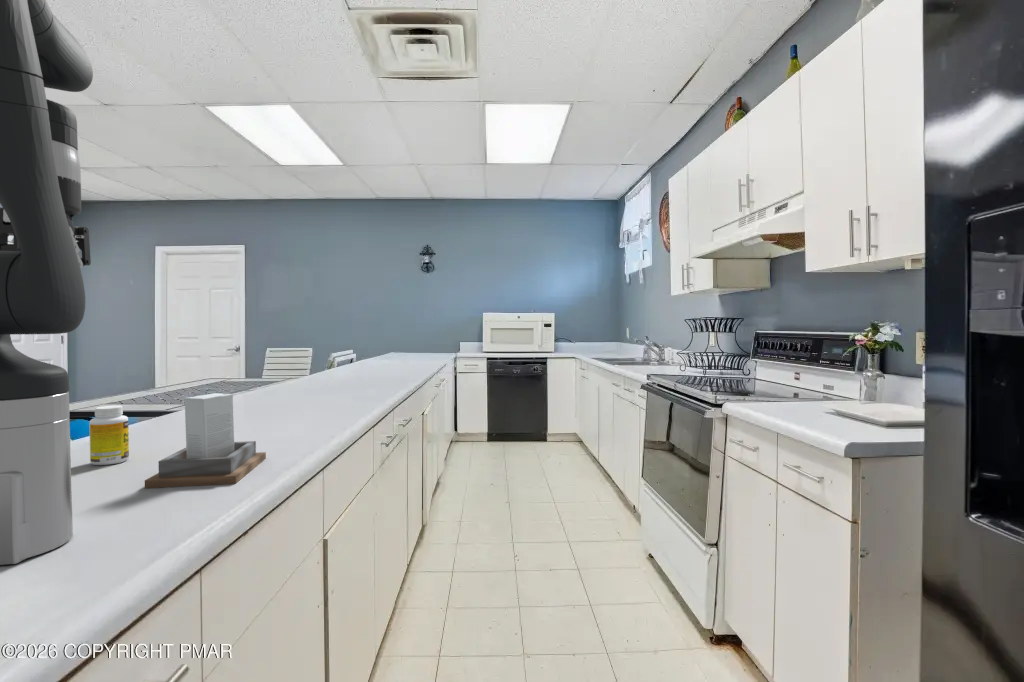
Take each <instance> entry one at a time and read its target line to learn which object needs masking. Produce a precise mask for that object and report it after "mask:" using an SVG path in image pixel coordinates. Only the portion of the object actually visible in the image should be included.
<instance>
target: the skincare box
mask: <svg viewBox="0 0 1024 682" xmlns="http://www.w3.org/2000/svg"><path fill="white" fill-rule="evenodd" d="M233 397H234V396H233V394H232V393H221V392H220V393H219V392H218V393H217V392H216V393H215V392H213V393H209V394H208V393H207V394H203V395H202V394H201V395H196V396H190V397H189V396H188V397H184V415H185V418H184V419H185V442H186V443H185V448H186V451H187V459H189V458H212V457H227V456H228V455H230V454H232V453H233V452H234V442H235V431H234V430H235V427H234V423H235V422H234V398H233Z"/></svg>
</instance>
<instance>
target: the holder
mask: <svg viewBox="0 0 1024 682" xmlns="http://www.w3.org/2000/svg"><path fill="white" fill-rule="evenodd" d="M256 442H257V441H256V440H252V441H251V440H249V441H248V440H247V441H234V452H233V453H232V454H230V455H228V456H227V457H212V458H189V459H187V451H186V447H184V448H182V449H180V450H178V451H176V452H175V453H172V454H169V455H168V456H166V457H164V458H162V459H161V460H159V461H158V472H157V473H156V474H153V475H152V476H150V477H148V478H147V479H145V480H144V489H153V488H154V489H155V488H157V489H158V488H174V487H175V488H176V487H191V486H210V485H211V486H212V485H231V484H232V485H233V484H237V483H238V482H239V481H240V480H241V479H243V478H244V477H245V476H247V475H248V474H249V473H250V472H252V471H253V470H254V469H255V468H256V467H258V466H259V465H260V464H261V463H262V462H263V461H265V460H267V452H266V451H265V452H263V451H262V452H261V451H260V452H257V444H256Z"/></svg>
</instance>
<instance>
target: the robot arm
mask: <svg viewBox="0 0 1024 682" xmlns="http://www.w3.org/2000/svg"><path fill="white" fill-rule="evenodd" d="M49 5H50V4H48V2H47V0H0V205H1V206H0V566H4V565H14V564H18V563H20V562H22V561H25V560H26V559H29V558H31V557H36V556H37V555H41V554H44V553H47V552H49V551H53V550H55V549H56V548H58V547H61V546H62V545H65V544H66V543H68V542H69V541H70V540H71V539H72V538H73V535H74V533H73V532H74V531H73V528H74V527H73V501H72V500H73V497H72V496H73V495H72V494H73V491H72V459H71V457H72V456H71V431H70V430H71V426H70V424H71V423H70V422H71V421H70V392H69V390H70V381H69V380H70V379H69V373H68V371H67V370H66V369H65V368H63V367H62V366H59V365H55V364H51V363H49V362H45V361H41V360H38V359H35V358H33V357H30V356H28V355H26V354H24V353H23V352H21V351H19V350H18V349H17V348H16V347H15V346H14V344H13V341H12V337H11V335H60V334H67V333H71V332H73V331H75V330H76V329H77V328H78V327H79V326H80V325H81V323H82V321H83V319H84V316H85V311H86V291H85V284H84V278H83V274H82V273H83V272H82V270H81V269H83V267H84V266H90V265H91V263H92V260H91V247H90V232H89V229H88V227H87V226H75V225H74V222H73V217H74V216H78V215H80V214H81V213H82V211H83V210H82V180H81V179H82V175H81V173H82V171H81V164H80V159H79V151H78V150H79V149H78V147H79V146H78V144H79V143H78V141H79V140H78V120H77V116H76V114H75V113H74V112H73V110H72V109H70V108H68V107H67V106H65V105H63V104H61V103H58V102H55V101H54V100H50V99H47V96H46V95H47V94H46V91H45V90H46V89H45V88H47V89H53V90H58V91H64V92H69V93H70V92H72V93H80V92H83V91H85V90H87V88H89V87H90V86H91V84H92V82H93V78H94V75H93V72H94V71H93V66H92V63H91V60H90V58H89V56H88V55H87V51H85V49H84V47H83V46H82V45H81V43H80V42H79V40H78V39H76V37H75V36H74V35H73V34H72V33H71V32H70V31H69V30H68V29H67V27H66V26H65V25H64V24H62V23H61V20H59V19H58V18H57V16H55V15H54V14H53V12H52V10H51V7H50V6H49ZM9 236H13V237H12V239H11V243H9ZM80 253H81V257H80Z"/></svg>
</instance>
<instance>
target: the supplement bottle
mask: <svg viewBox="0 0 1024 682" xmlns="http://www.w3.org/2000/svg"><path fill="white" fill-rule="evenodd" d="M123 409H124V408H123V405H118V404H117V405H103V406H98V407H95V408H94V418H92V419H90V420H89V424H88V425H89V427H88V428H89V431H88V432H89V460H90V464H91V465H94V466H108V465H109V466H111V465H116V464H120V463H124V462H126V461H127V460H128V459H129V457H130V446H129V445H130V443H129V441H130V440H129V439H130V438H129V434H130V432H129V417H128V416H127V415H123V414H124V413H123V412H124V410H123Z"/></svg>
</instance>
